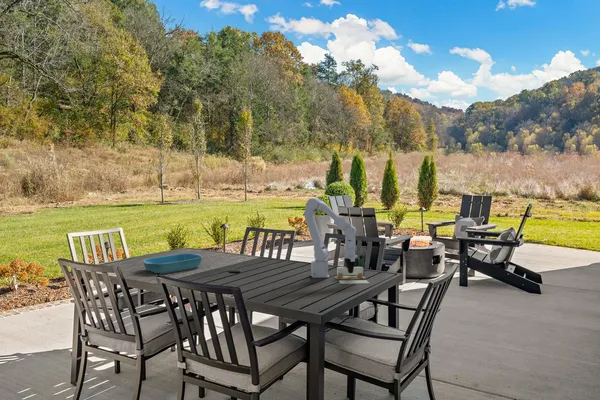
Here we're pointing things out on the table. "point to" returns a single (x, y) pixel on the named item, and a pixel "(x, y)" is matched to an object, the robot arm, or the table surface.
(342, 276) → the rack
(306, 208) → the robot arm
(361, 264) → the binoculars
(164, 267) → the casserole dish
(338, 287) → the table surface
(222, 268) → the table surface
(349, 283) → the mat
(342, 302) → the table surface
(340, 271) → the rail
